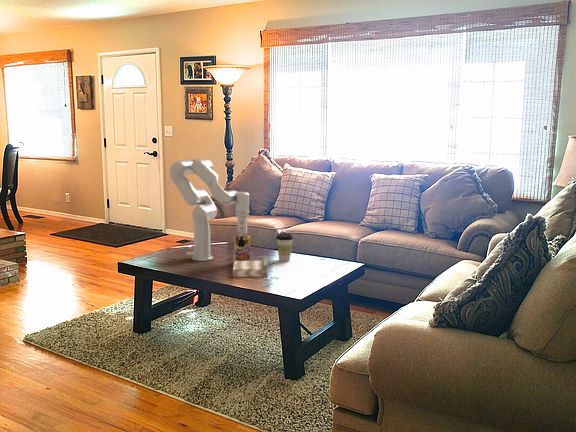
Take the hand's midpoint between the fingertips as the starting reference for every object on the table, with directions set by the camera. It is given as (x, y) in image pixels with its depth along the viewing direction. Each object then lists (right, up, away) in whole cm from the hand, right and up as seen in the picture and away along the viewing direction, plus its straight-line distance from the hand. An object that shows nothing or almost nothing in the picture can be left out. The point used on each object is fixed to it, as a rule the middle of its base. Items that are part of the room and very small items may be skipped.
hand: (241, 245), depth 325 cm
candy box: (0, -10, +2) cm, 10 cm away
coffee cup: (+24, -10, +9) cm, 28 cm away
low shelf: (+6, -14, -17) cm, 23 cm away
